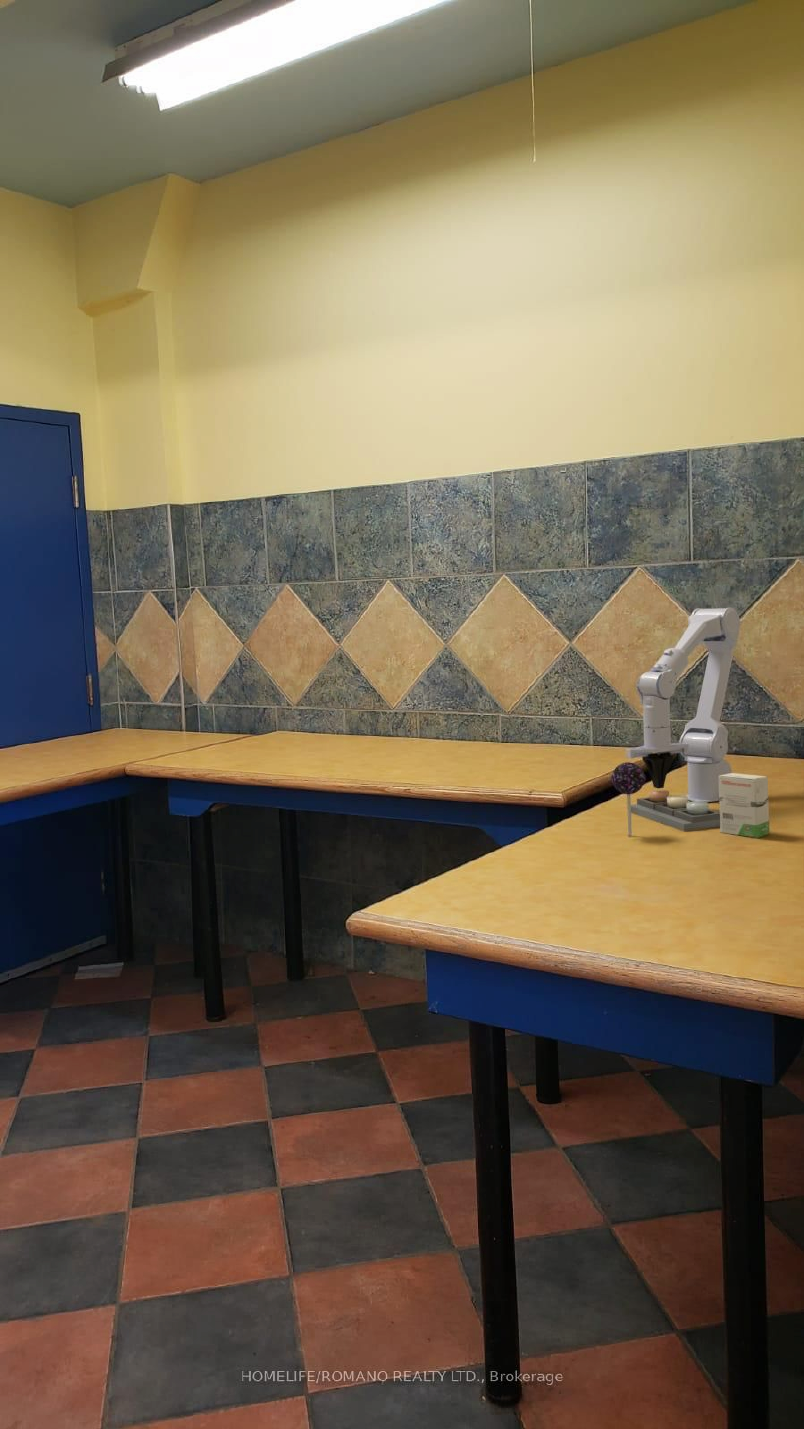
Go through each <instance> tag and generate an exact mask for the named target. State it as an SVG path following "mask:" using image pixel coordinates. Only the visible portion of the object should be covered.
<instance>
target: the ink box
mask: <svg viewBox="0 0 804 1429" xmlns="http://www.w3.org/2000/svg"><path fill="white" fill-rule="evenodd" d="M718 779H719V801H718V802H719V812H720V826H719V828H720V832H719V833H722V834H729V835H736V836H743V837H749V838H756V839H759V838H762V837H764V836H766V835H770V832H771V831H770V812H769V810H770V809H769V805H770V804H769V784H768V782H769V781H768V780H769V777H768V776H764V775H756V774H746V773H735V772H732V773H730V774H724V775H720V776H719V777H718Z"/></svg>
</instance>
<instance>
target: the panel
mask: <svg viewBox="0 0 804 1429" xmlns="http://www.w3.org/2000/svg"><path fill="white" fill-rule="evenodd" d="M708 809H709V812H708V813H706V814H689V813H687V807H684V808H671V807H668V806H667V801H664V802H653V801H649V796H647V797H642V798H636V803H635V804H631V814H633V815H638V816H639V817H642V818H645V819H648V820H651V821H654V822H657V823H660V824H663V825H664V826H665V825H666V826H668V827H671V828H673V829H675V830H676V829H677V830H679V831H682V832H689V831H696V830H697V831H698V830H705V829H710V828H718V827H719V828H720V811H716V810H714V809H710V808H708Z"/></svg>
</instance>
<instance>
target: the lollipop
mask: <svg viewBox="0 0 804 1429" xmlns="http://www.w3.org/2000/svg"><path fill="white" fill-rule="evenodd" d="M614 768H615V769H613V772H612V774H611V775H610V781H611V783H612V784H613V787H614V788H615V789H616V791H618V792H619V793H621V794H623V795H626V804H627V806H626V807H627V809H626V810H627V830H628V831H627V834H628V837H632V813H631V805H632V803H631V795H633V794H636V793H638V792H639V791H640V790H642V788H643V786H644V784H645V782H646V779H647V778H646V774H645V773H644V771H643V769H642V767H641V766H639V765H638V764H636V763H634V762H630V761H627V762H623V763H620V764H618V765H617V766H616V767H614Z"/></svg>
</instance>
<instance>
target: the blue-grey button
mask: <svg viewBox="0 0 804 1429" xmlns="http://www.w3.org/2000/svg"><path fill="white" fill-rule="evenodd" d="M686 807H687V813H689V814H706V813H708V812H709V809H710V808H709V802H701V801H688V803H686Z"/></svg>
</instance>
